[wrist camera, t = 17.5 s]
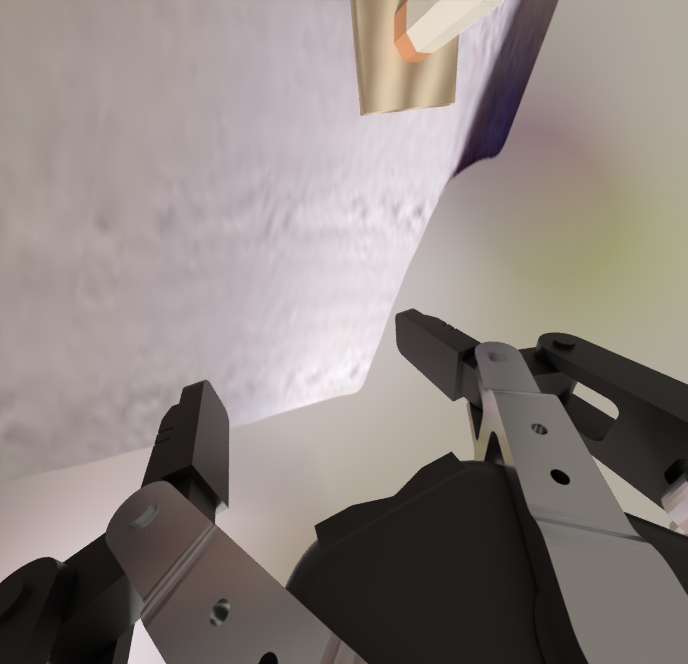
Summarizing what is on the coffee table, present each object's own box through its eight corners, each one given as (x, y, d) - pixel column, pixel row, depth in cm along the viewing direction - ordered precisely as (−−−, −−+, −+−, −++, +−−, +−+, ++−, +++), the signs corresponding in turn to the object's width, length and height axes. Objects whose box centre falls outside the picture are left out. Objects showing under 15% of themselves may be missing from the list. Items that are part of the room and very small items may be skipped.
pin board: (360, 115, 33) (383, 101, 28) (344, -61, 26) (371, -122, 21) (447, 105, 36) (481, 91, 31) (454, -53, 29) (500, -104, 24)
